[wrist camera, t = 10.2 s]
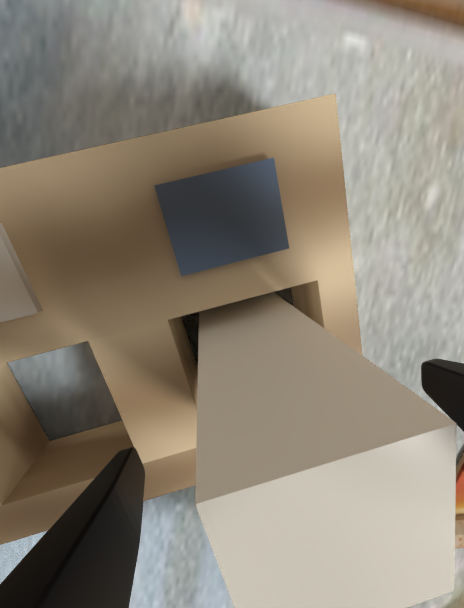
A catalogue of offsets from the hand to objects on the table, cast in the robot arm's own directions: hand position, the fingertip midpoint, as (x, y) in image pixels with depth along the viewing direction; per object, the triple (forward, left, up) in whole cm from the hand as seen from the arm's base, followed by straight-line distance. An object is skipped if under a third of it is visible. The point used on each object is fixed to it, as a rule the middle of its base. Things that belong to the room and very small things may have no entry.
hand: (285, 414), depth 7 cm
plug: (0, 0, -6) cm, 7 cm away
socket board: (+2, +5, -6) cm, 8 cm away
